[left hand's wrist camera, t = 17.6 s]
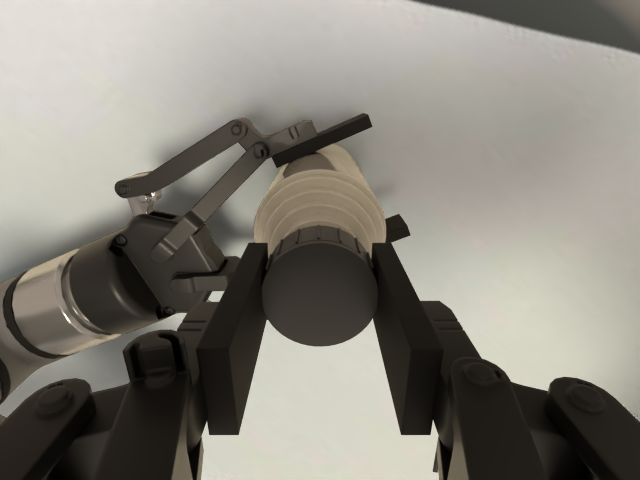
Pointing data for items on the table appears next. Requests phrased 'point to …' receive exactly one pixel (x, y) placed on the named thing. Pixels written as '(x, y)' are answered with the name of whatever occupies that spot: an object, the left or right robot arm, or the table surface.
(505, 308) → the table surface
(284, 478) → the table surface
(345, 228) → the bottle
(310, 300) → the cap
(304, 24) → the table surface
